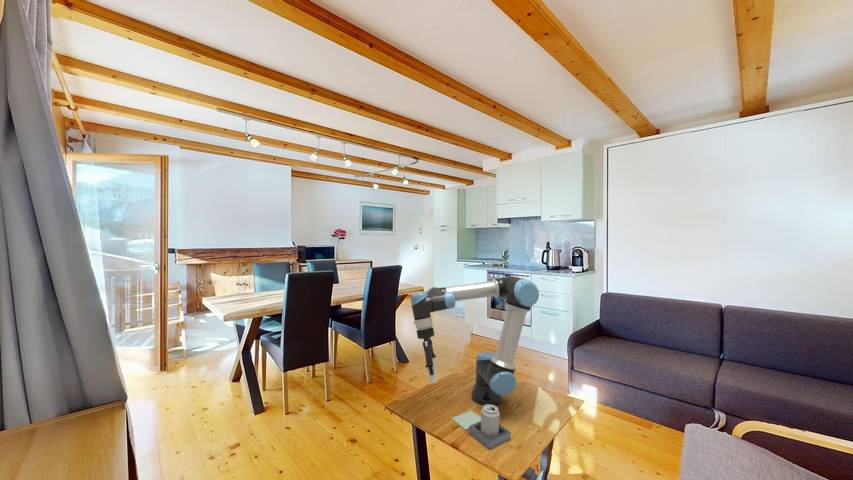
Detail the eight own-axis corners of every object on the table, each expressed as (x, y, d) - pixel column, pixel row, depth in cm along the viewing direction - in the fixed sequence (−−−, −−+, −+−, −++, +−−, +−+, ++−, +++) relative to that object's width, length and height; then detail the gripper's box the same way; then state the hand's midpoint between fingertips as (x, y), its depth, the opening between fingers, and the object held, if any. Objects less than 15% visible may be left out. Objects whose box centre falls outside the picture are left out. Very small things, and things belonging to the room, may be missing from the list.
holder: (489, 424, 140) (489, 417, 140) (510, 439, 130) (510, 432, 130) (468, 433, 133) (469, 425, 133) (489, 449, 123) (489, 442, 123)
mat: (471, 411, 150) (471, 410, 150) (485, 421, 142) (485, 420, 142) (451, 419, 143) (451, 418, 143) (465, 430, 135) (465, 429, 135)
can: (502, 440, 129) (503, 411, 129) (485, 443, 127) (486, 413, 127) (493, 429, 136) (494, 402, 136) (477, 432, 134) (478, 404, 134)
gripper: (418, 326, 152) (427, 371, 149) (413, 334, 127) (423, 388, 124) (433, 323, 152) (442, 368, 148) (431, 330, 127) (442, 385, 124)
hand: (434, 377), depth 136 cm, fingers open, 13 cm apart
